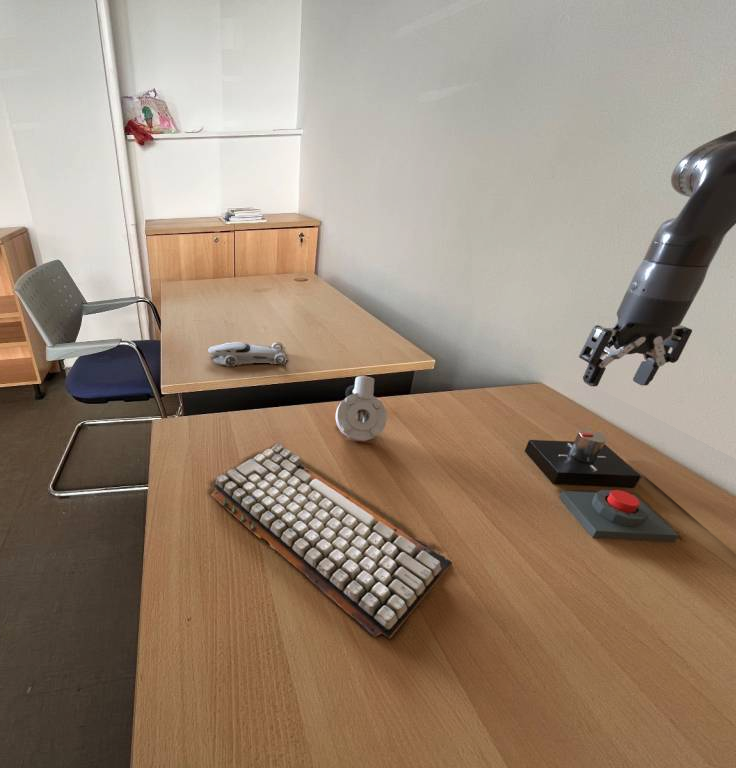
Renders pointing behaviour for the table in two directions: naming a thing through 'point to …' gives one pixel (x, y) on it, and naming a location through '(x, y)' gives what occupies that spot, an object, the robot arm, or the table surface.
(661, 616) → the table surface
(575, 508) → the button box
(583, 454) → the knob
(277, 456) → the mechanical keyboard
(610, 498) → the button
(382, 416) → the mechanical valve
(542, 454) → the panel
